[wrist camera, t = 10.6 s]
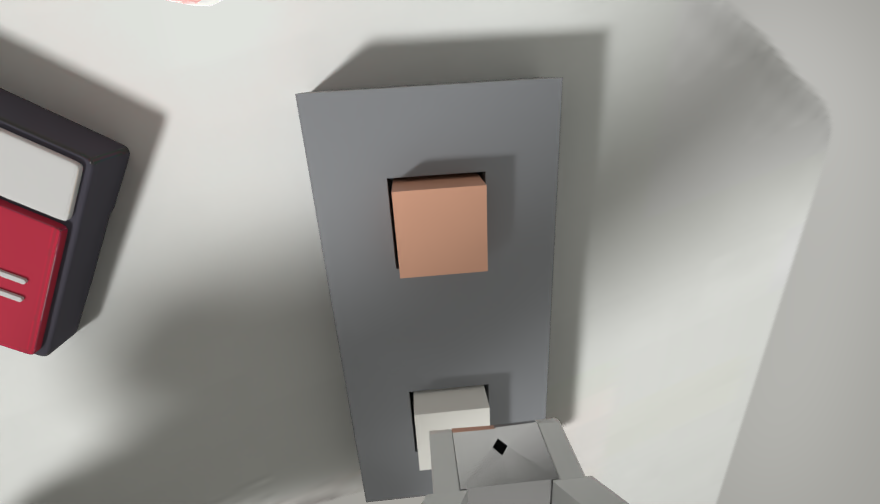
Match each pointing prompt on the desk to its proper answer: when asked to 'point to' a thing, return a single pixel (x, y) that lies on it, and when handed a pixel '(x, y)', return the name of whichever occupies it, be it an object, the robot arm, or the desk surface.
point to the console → (442, 296)
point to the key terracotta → (440, 224)
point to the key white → (447, 414)
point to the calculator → (50, 220)
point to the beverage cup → (197, 2)
